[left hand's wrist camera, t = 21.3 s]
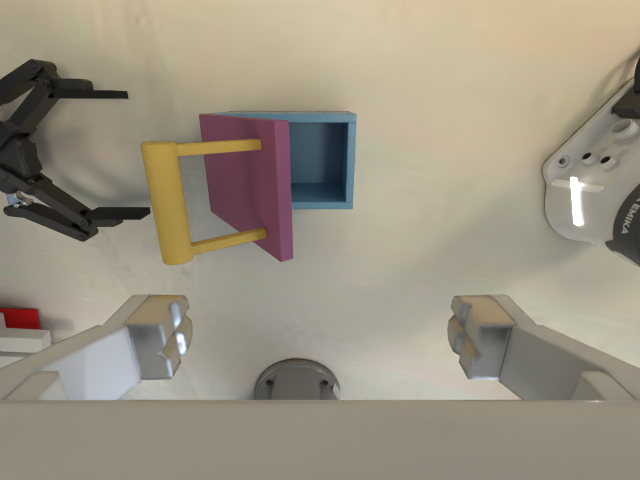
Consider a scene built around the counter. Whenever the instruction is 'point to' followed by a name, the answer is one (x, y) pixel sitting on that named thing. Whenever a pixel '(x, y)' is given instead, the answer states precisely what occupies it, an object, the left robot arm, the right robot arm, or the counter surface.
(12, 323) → the toy
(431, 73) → the counter surface
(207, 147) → the lid
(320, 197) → the chest
